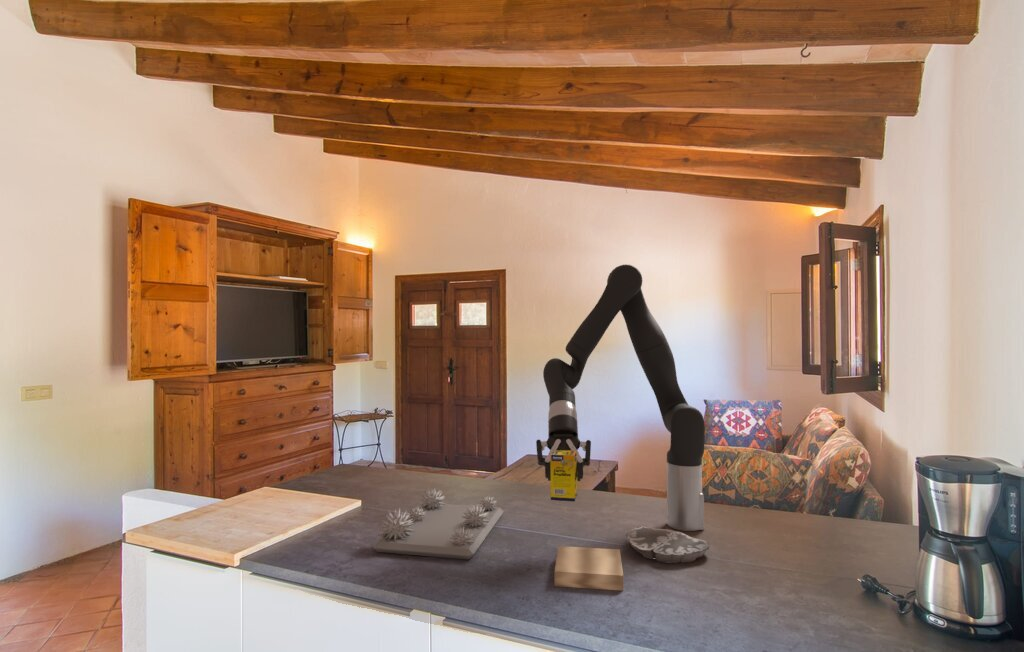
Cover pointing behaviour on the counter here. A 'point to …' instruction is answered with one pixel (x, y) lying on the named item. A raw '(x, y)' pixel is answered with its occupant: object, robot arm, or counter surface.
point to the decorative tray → (439, 528)
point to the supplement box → (563, 475)
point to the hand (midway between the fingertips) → (564, 479)
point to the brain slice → (666, 544)
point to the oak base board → (589, 568)
